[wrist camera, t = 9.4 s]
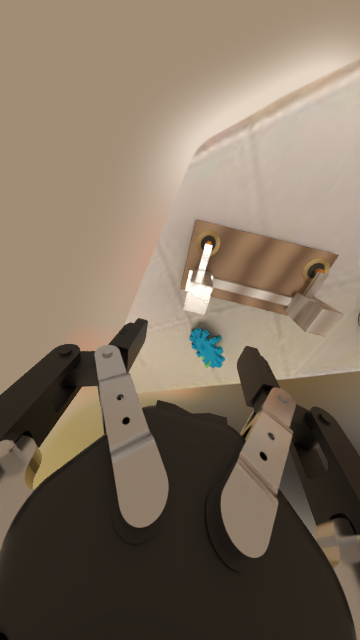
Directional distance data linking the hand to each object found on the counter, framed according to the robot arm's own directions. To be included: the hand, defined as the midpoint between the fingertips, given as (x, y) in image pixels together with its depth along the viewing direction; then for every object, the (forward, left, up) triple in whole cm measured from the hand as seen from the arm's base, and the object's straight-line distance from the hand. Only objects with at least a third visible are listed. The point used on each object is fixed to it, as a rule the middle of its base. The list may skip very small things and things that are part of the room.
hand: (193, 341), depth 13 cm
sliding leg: (0, -2, -20) cm, 20 cm away
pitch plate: (-9, -3, -22) cm, 24 cm away
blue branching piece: (-6, +15, -22) cm, 27 cm away
